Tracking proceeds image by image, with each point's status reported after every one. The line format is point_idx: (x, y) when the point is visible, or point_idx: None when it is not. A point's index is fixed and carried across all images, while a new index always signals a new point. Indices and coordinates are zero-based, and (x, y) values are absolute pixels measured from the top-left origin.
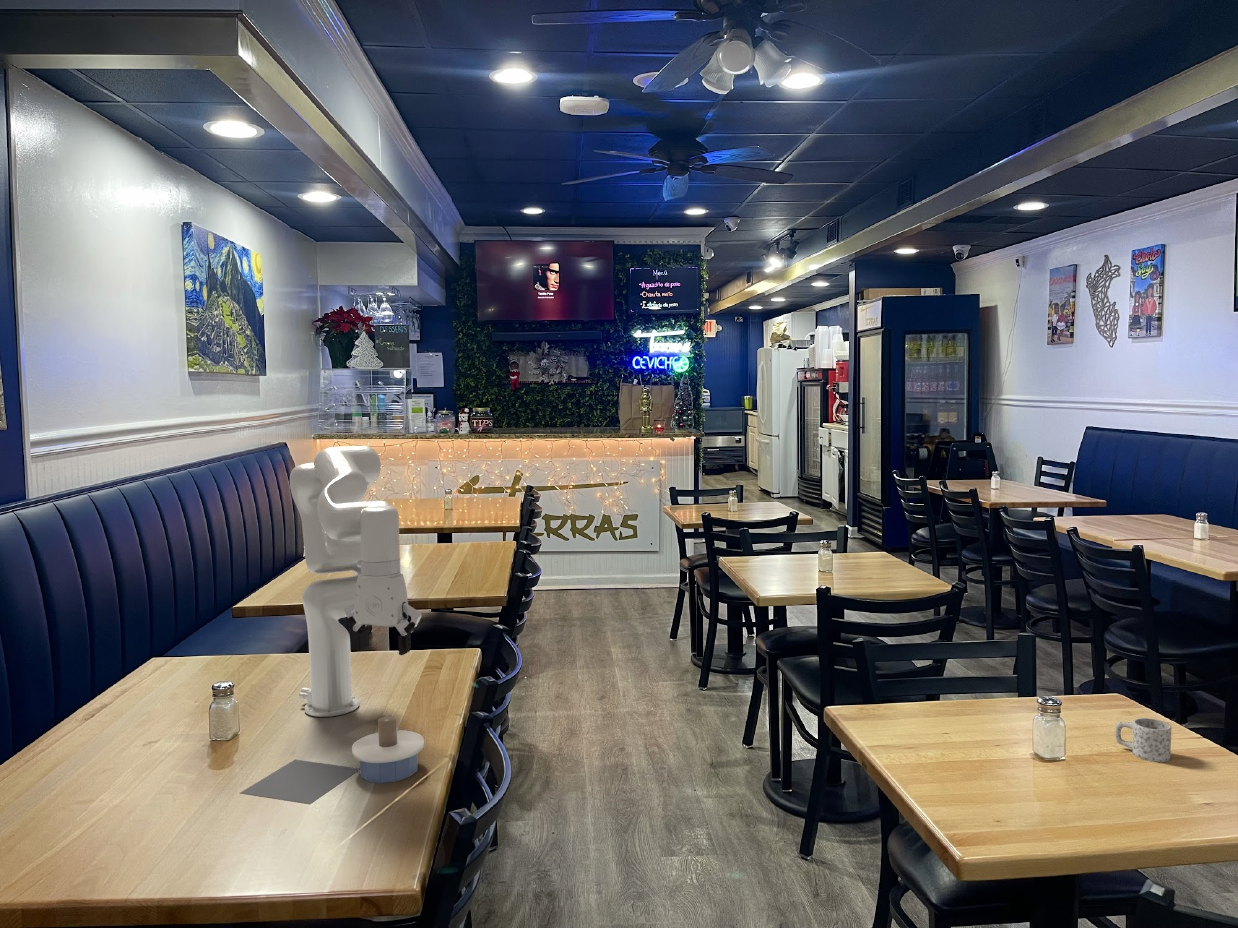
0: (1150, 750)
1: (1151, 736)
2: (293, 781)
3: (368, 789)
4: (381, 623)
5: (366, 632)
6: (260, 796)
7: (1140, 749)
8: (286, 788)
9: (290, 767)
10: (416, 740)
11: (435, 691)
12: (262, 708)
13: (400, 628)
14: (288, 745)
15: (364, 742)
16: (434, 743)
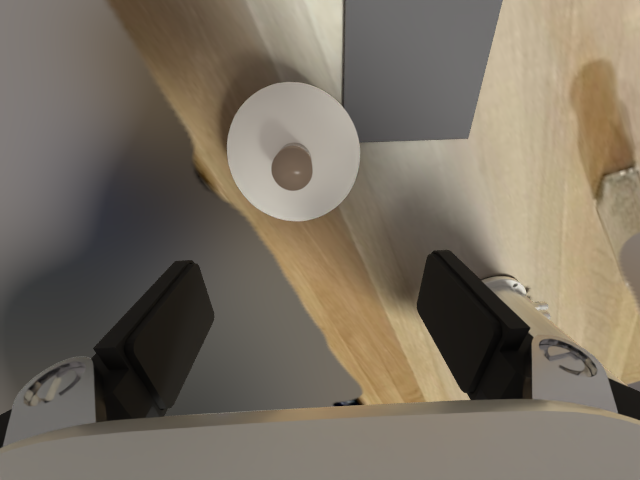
0: None
1: None
2: (429, 51)
3: (288, 79)
4: (176, 463)
5: (459, 363)
6: None
7: None
8: (428, 16)
9: (461, 106)
10: (255, 190)
11: (382, 365)
12: (583, 276)
13: (43, 427)
14: (500, 187)
15: (341, 150)
16: (296, 256)
